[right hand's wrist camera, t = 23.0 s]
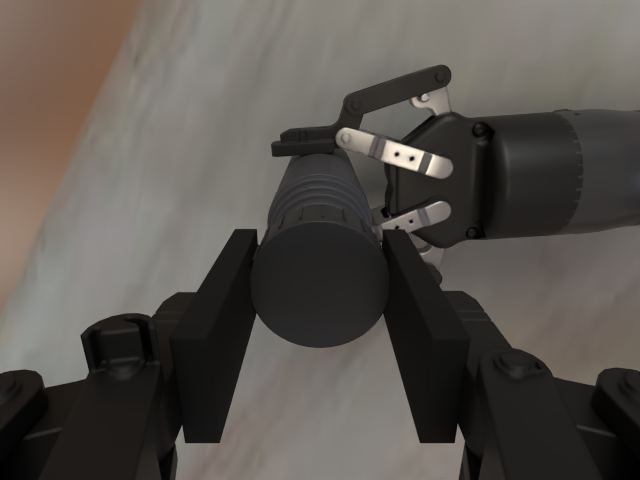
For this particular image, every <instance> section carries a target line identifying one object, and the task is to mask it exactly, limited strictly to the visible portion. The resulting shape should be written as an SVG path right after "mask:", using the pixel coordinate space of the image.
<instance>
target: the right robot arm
mask: <svg viewBox="0 0 640 480" xmlns="http://www.w3.org/2000/svg"><path fill="white" fill-rule="evenodd" d="M257 247H258V241H257V229H235V230H234V232H233V234H232V235H231V237H230V238H229V240H228V242H227V243H226V245H225V247H224V248H223V250H222V252H221V253H220V255H219V256H218V258H217V260H216V261H215V263H214V265H213V266H212V268H211V270H210V271H209V273H208V274H207V276H206V278H205V279H204V281H203V283H202V284H201V286H200V288H199V289H198V291H197V292H177V293H176V294H174V295H173V296H171V297H170V298H168V299H166V300H165V301H163V303H162V304H161V306H160V307H159V308H158V310H157V311H156V314H154V315H153V316H152V318H151V317H150V316H148V315H144V314H140V313H128V314H121V315H116V316H112V317H109V318H106V319H103V320H101V321H98V322H97V323H95V324H93V325H92V326H90V327H88V328H87V329H86V330H85V331H84V332H83V333H82V334H81V340H82V344H83V348H84V352H85V356H86V360H87V364H88V368H89V374H88V376H87V378H86V379H84V380H80V381H76V382H72V383H67V384H62V385H57V386H52V387H47V388H45V386H44V383H43V379H42V376H41V375H39V374H38V373H37V372H36V371H31V370H16V371H8V372H4V373H2V374H0V480H175V477H176V469H177V461H178V459H177V451H176V445H175V441H176V438H177V436H178V433H179V431H180V428H181V426H183V432H184V438H185V443H220V440H221V436H222V433H223V429H224V426H225V422H226V419H227V415H228V412H229V408H230V405H231V401H232V398H233V394H234V391H235V387H236V384H237V380H238V377H239V373H240V370H241V366H242V363H243V359H244V356H245V352H246V348H247V345H248V341H249V338H250V334H251V331H252V327H253V324H254V320H255V317H256V313H257V312H256V310H255V308H254V306H253V304H252V300H251V286H250V271H251V268H252V264H253V262H254V261H252V259H253V256H254V254H255V252H256V249H257ZM382 250H383V253H384V255H385V258H386V260H387V263H388V268H389V273H390V282H389V297H388V303H387V305H386V308H385V310H384V312H383V314H384V318H385V321H386V325H387V328H388V332H389V335H390V339H391V342H392V346H393V349H394V353H395V356H396V360H397V363H398V367H399V370H400V374H401V378H402V381H403V385H404V388H405V392H406V395H407V399H408V402H409V406H410V409H411V413H412V416H413V420H414V423H415V427H416V430H417V434H418V437H419V441H420V443H455V437H456V430H457V424H458V425H459V427H460V429H461V432H462V434H463V437H464V439H465V445H464V451H463V457H462V463H461V469H460V475H459V480H640V372H638V371H636V370H632V369H624V368H610V369H604V370H603V371H602V372H601V373H600V374H599V375H598V378H597V381H596V385H595V386H592V385H587V384H582V383H577V382H572V381H567V380H563V379H559V378H555V377H553V375H552V373H551V371H550V370H549V368H548V367H547V366H546V365H545V363H544V362H542V361H541V360H539V359H538V358H537V357H535V356H534V355H531V354H529V353H527V352H524V351H522V350H519V349H515V348H512V347H511V346H510V344H509V343H508V342H507V340H506V339H505V338H504V336H503V335H502V334H501V332H500V331H499V330H498V328H497V327H496V326H495V324H494V323H493V322H491V319H490V318H489V316H488V315H487V314H486V313H484V310H483V308H482V307H481V306H480V304H479V303H478V302H477V300H476V299H474V298H472V297H471V296H469V295H468V294H466V293H465V292H463V291H442V290H441V288H440V286H439V285H438V283H437V281H436V280H435V278H434V277H433V275H432V273H431V272H430V270H429V268H428V267H427V265H426V263H425V262H424V260H423V259H422V257H421V255H420V254H419V252H418V250H417V249H416V247H415V245H414V244H413V242H412V241H411V239H410V237H409V236H408V234H407V232H406V231H405V229H383V236H382Z"/></svg>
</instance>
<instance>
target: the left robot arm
mask: <svg viewBox="0 0 640 480" xmlns="http://www.w3.org/2000/svg"><path fill="white" fill-rule="evenodd" d="M450 80H451V71H450V69H449V68H448V67H447V66H445V65H437V66H432V67H428V68H425V69H422V70H419V71H416V72H413V73H410V74H407V75H404V76H401V77H398V78H395V79H392V80H389V81H386V82H383V83H380V84H377V85H374V86H371V87H368V88H365V89H362V90H359V91H356V92H353V93H351V94H348V95H347V96H346V97H345V98H344V101H343V106H342V110H341V113H340V116H339V119H338V120H337V122H336V123H335V124H333V125H331V126H322V127H308V128H294V129H289V130H287V131H285V132H283V133H282V134H281V135H280V138H281V140H280V141H274V142H273V143H272V144H271V148H272V156H273V157H281V156H296V155H310V154H324V153H335V151H334V149H337V148H343V149H346V150H349V151H353V152H356V153H359V154H363V155H366V156H369V157H372V158H374V159H377V160H380V161H383V162H385V174H386V177H387V181H388V185H387V188H386V192H385V204H384V205H381V206H379V207H377V208H374V209H372V210H371V214H372V232H373V233H376V234H377V237H378V240H379V242H382V236H383V229H405V231H406V232H407V233H409V232H411V233H412V234H414V235H416V236H417V237H419V238H421V239H422V240H424V241H425V242H427V245H426V246H424V247H423V248H416V249H417V250H418V252H419V254H420V255H421V257H422V259H423V260H424V262H425V263H426V265H427V267H428V268H429V270H430V272H431V273H432V275H433V277H434V278H435V280H436V281H437V283H438V285H440V284H441V282H442V276H441V274H440V273H439V267H440V264H441V261H442V258H443V254H444V251H445V248H449V247H451V246H453V245H455V244H457V243H459V242H461V241H464V240H471V239H472V240H487V239H502V238H517V237H533V236H548V235H563V234H578V233H590V232H598V231H604V230H609V229H613V228H619V227H625V226H640V110H636V111H616V110H602V109H591V110H575V111H573V110H568V109H563V110H556V111H553V112H547V113H533V114H519V115H505V116H491V117H477V118H466V117H464V116H462V115H460V114H458V113H455V112H452V111H451V106H450V101H449V96H448V91H447V85H448V84H449V82H450ZM405 100H409V103H410V104H411V105H412V106H413V107H415V108H427V109H429V110H430V111H431V113H432V116H430V117H429V118H428V119H427V120H425V121H424V122H423V123H422V124H420V125H419V126H418V127H417V128H415V129H414V130H413V131H412V132H411V133H409V134H408V135H407V136H406V137H404V138H403V139H402V140H397V139H394V138H391V137H387V136H384V135H381V134H377V133H373V132H369V131H366V130H363V129H359V127H360V124H361V121H362V117H363V114H365V113H368V112H371V111H374V110H377V109H380V108H383V107H386V106H389V105H393V104H396V103H399V102H402V101H405ZM388 212H389V213H388ZM395 226H397V227H395Z"/></svg>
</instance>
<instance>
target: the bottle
mask: <svg viewBox="0 0 640 480" xmlns="http://www.w3.org/2000/svg"><path fill="white" fill-rule="evenodd" d="M334 151H335V153H324V154H310V155H296V156H292V158H291V160H290V162H289V165H288V167H287V169H286V172H285V174H284V176H283V179H282V181H281V183H280V186H279V188H278V190H277V192H276V195H275V197H274V199H273V202H272V204H271V207H270V210H269V214H268V228H269V229H270V227H271V226H272V225H273V224H274V223H275V222H276V221H278V220H279V219H280V218H281V216H282V215H286V214H288V213H290V212H292V211H295V210H297V209H300V207H302V206H303V208H304V207H309V206H322V204H324V206H331V207H336V208H339V209H343V208H344V209H345V211H348V212H350V213H352V214H353V215H355V216H357V217H358V218H360V219H361V218H362V219H363V220H364V222H365V223H366V224H367V226H368V227H369V228H370V229H371V230H372V214H371V210H370V207H369V204H368V202H367V199H366V197H365V195H364V192H363V190H362V188H361V185H360V183H359V181H358V178H357V176H356V174H355V171H354V169H353V167H352V164H351V162H350V160H349V157H348V156H347V154H346V152H345V151H344V150H343V149H342V148H337V149H334Z"/></svg>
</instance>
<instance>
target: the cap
mask: <svg viewBox="0 0 640 480" xmlns="http://www.w3.org/2000/svg"><path fill="white" fill-rule="evenodd" d="M252 261H254V262H253V264H252V268H251V271H250V286H251V300H252V304H253V306H254V308H255V310H256V312H257V314H258V316H259V317H260V319H261V320H262V321H263V322H264V324H265V325H266V326H267V327H268V328H269V329H270V330H272V331H273V332H274V333H275V334H277V335H278V336H280V337H281V338H283V339H285V340H287V341H289V342H292V343H295V344H298V345H302V346H306V347H313V348H325V347H333V346H339V345H342V344H345V343H348V342H350V341H353V340H355V339H357V338H358V337H360V336H362V335H363V334H364V333H366V332H367V331H368V330H370V329H371V328H372V327H373V326H374V325H375V324H376V322H377V321H378V320H379V318H380V317H381V315H382V314H383V312H384V310H385V308H386V305H387V303H388V297H389V282H390V273H389V268H388V263H387V260H386V258H385V255H384V253H383V250H381V245H380V242H379V240H378V237H377V234H376V233H373V232H372V230H371V229H370V228H369V227H368V226H367V224H366V223H365V222H364V220H363V219H362V218H361V219H360V218H358V217H357V216H355V215H353V214H352V213H350V212H348V211H345V209H344V208H343V209H339V208H336V207H331V206H324V204H322V206H309V207H304V208H303V206H302V207H300V209H297V210H295V211H292V212H290V213H288V214H286V215H282V216H281V218H280V219H279V220H278V221H276V222H275V223H274V224H273V225H272V226H271V227H270V229H269V228H267V230H266V233H265V235H264V237H263V239H262V242H261V244H260V245H258V247H257V249H256V252H255V254H254V256H253V259H252Z"/></svg>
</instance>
